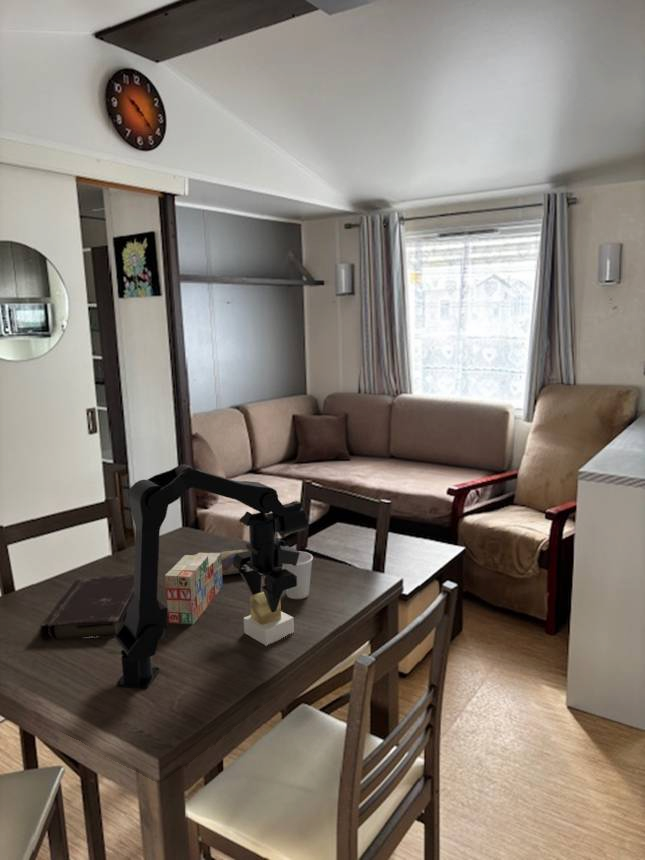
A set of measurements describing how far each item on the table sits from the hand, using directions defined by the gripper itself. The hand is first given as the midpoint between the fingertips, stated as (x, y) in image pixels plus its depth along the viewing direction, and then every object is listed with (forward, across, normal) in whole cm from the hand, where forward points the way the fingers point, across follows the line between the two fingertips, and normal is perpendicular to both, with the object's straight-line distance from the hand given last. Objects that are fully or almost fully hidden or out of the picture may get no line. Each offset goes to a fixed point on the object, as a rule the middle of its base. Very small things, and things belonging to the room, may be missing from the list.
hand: (265, 605), depth 143 cm
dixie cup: (+7, +12, -16) cm, 21 cm away
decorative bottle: (+7, +33, -10) cm, 36 cm away
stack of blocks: (+7, +23, +6) cm, 25 cm away
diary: (+7, +34, +28) cm, 44 cm away
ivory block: (+7, 0, 0) cm, 7 cm away
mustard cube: (+3, 0, 0) cm, 3 cm away
